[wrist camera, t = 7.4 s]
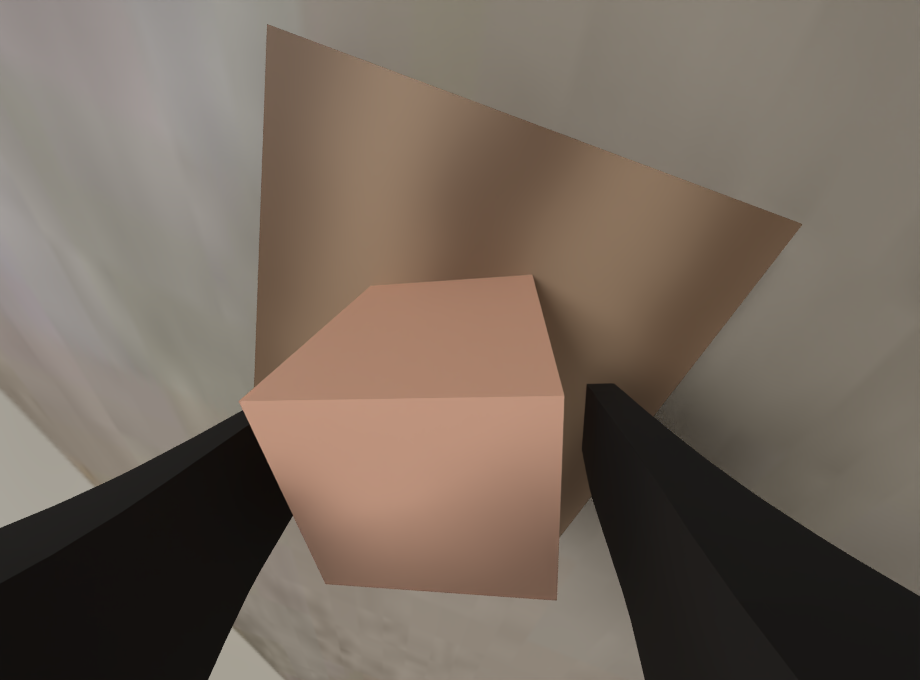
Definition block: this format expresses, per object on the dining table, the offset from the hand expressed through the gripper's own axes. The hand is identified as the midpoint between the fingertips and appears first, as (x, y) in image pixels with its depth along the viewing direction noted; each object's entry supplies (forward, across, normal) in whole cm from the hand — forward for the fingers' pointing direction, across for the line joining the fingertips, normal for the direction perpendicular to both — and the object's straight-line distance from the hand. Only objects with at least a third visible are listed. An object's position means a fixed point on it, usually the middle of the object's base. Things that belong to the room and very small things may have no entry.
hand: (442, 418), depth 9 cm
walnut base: (+6, 0, 0) cm, 6 cm away
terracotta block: (+3, 0, 0) cm, 3 cm away
